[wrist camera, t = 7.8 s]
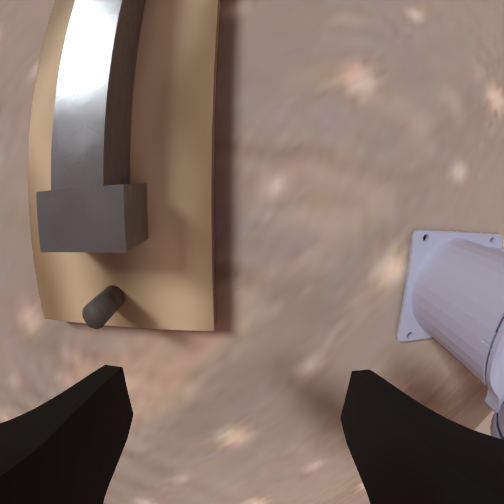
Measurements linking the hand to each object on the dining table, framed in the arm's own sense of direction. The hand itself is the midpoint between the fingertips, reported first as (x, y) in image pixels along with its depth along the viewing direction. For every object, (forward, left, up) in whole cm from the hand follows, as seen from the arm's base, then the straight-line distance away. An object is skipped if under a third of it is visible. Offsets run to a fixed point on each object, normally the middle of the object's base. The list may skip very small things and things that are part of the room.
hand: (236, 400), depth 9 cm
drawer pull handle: (+7, -14, -9) cm, 18 cm away
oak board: (+7, -14, -10) cm, 19 cm away
